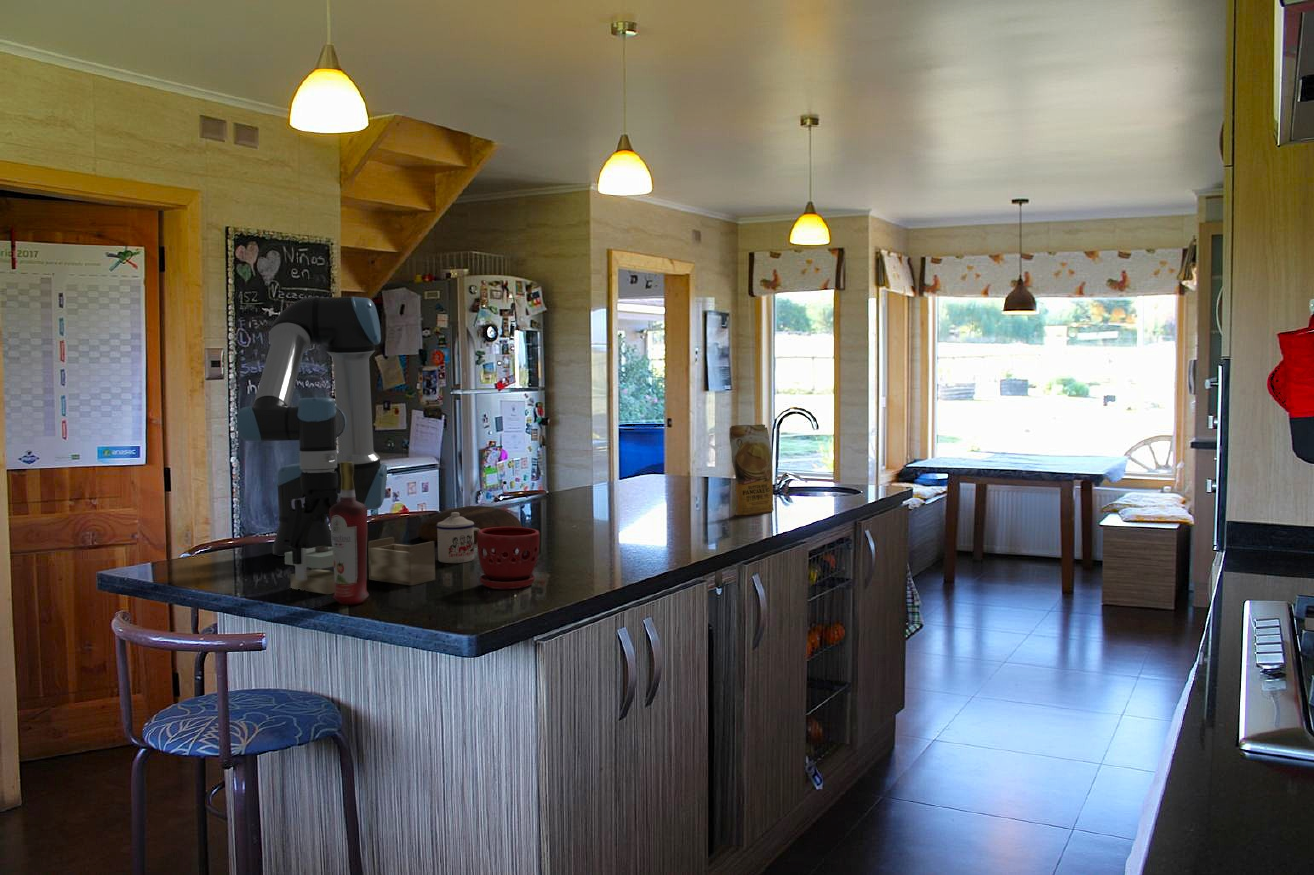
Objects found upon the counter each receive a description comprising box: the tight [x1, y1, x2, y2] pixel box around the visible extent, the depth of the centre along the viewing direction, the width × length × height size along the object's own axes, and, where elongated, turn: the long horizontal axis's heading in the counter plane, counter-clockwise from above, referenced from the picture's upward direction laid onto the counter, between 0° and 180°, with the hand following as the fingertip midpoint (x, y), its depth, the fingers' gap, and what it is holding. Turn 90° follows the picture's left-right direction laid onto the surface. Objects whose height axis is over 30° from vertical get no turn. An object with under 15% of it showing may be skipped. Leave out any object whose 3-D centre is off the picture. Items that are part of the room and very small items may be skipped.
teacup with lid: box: [436, 512, 480, 564], centre depth 254 cm, size 12×9×12 cm
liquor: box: [329, 462, 370, 606], centre depth 207 cm, size 7×7×28 cm
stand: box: [289, 568, 335, 595], centre depth 222 cm, size 12×7×3 cm, turn 57°
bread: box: [417, 505, 523, 545], centre depth 289 cm, size 28×27×9 cm
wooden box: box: [367, 536, 436, 586], centre depth 230 cm, size 13×7×8 cm, turn 57°
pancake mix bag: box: [728, 423, 774, 516], centre depth 329 cm, size 7×19×28 cm, turn 128°
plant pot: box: [477, 526, 541, 590], centre depth 222 cm, size 13×13×12 cm
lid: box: [284, 546, 334, 570], centre depth 222 cm, size 11×10×3 cm
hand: (322, 575), depth 222 cm, fingers closed on lid, 10 cm apart
